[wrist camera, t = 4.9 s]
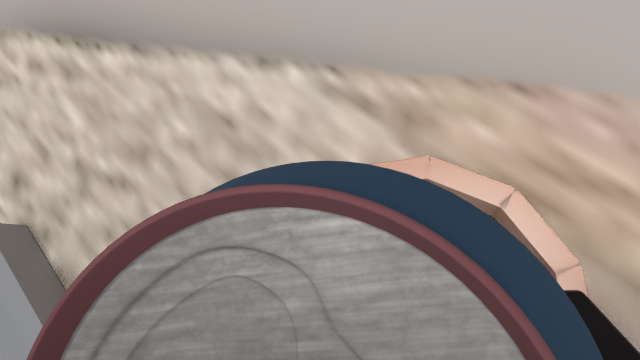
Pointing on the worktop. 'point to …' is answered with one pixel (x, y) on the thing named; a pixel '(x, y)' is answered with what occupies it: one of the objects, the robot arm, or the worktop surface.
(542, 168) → the worktop surface
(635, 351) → the robot arm
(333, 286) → the soda can
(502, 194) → the ring holder
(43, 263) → the tray
